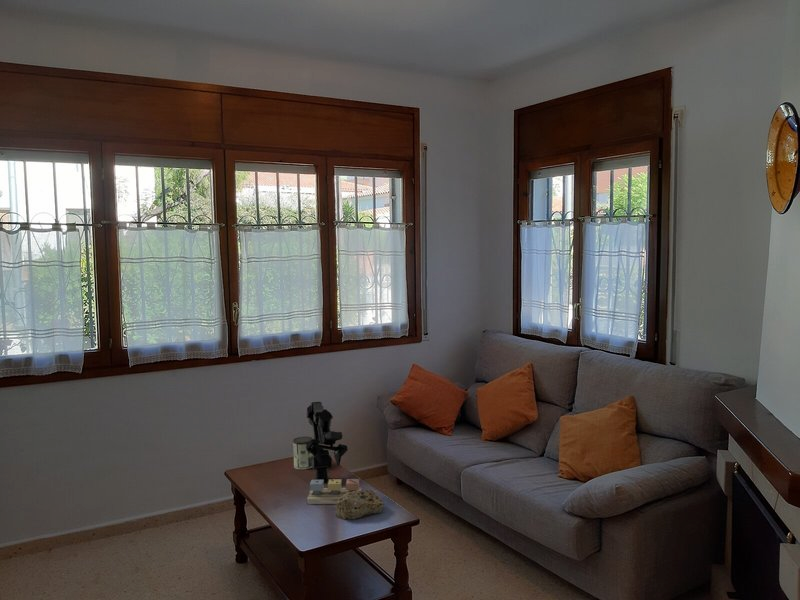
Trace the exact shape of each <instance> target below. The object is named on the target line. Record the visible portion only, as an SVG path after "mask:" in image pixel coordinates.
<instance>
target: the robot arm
mask: <svg viewBox="0 0 800 600" xmlns="http://www.w3.org/2000/svg"><path fill="white" fill-rule="evenodd" d="M305 415H306V419H307V420H308V421H307V422H308V423H309V425H311V427H312V432H313V433H312V434H313V439H311V440H310V441H309V442H308V444H307V445H306V450H307V451H309V452H310V453H312V454H313V460H312V469H313V470H314V471H315V479H314V480H324V483H328V482H329V479H330V476H329V471H328V470H329V469H332V464H333V463H332V462H333V458H332V456H331V455H330V452H333V454H334V455H333V457H334V461H335V463H336V465H337V467H339V466H340V464H341V460H342V457H343V456H344V455H345V454H346V453H347V452H348V450H349V448H348V446H347V445H346V444H342V443H339V444H337V446H334V445H335V444H336V442H337V441H340V440H342V439H343V432H341V431H333V430H332V431H331V425H332V420H333V417H334V416H333V414H332V413H331V412H330V411H329V410H328V409H326V408H325V409H324V406H323V403H322V401H312V402H311V403H310V405H309V406H308V407H306V414H305ZM329 451H330V452H329Z"/></svg>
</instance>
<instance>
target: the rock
mask: <svg viewBox="0 0 800 600" xmlns="http://www.w3.org/2000/svg"><path fill="white" fill-rule="evenodd" d="M384 505H385V503H384V500H383V499H382V498H381V497H380V496H379V495H377V494H376V493H375V492H374V491H373V490H371V489H370V490H369V489H362V490H361V491H353V492H347V493H346V494H344V495H343V496H341V497H340V498H339V499H338V501H337V502H336V504H335V506H336V508H335V517H337V518H340V519H342V520H347V519H349V520H351V519H352V520H355V519H359V518H362V516H363V517H366V516H369V515H372V514H378V513H382V510H383V508H384Z"/></svg>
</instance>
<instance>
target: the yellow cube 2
mask: <svg viewBox="0 0 800 600" xmlns="http://www.w3.org/2000/svg"><path fill="white" fill-rule="evenodd" d="M342 480H343V479H341V478H340V479H335V478H333V479H330V478H329V480H328V482H327V488H328V491H331V495H338V494H339V490H341V488H342V487H343V486H342V485H343V481H342Z"/></svg>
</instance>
